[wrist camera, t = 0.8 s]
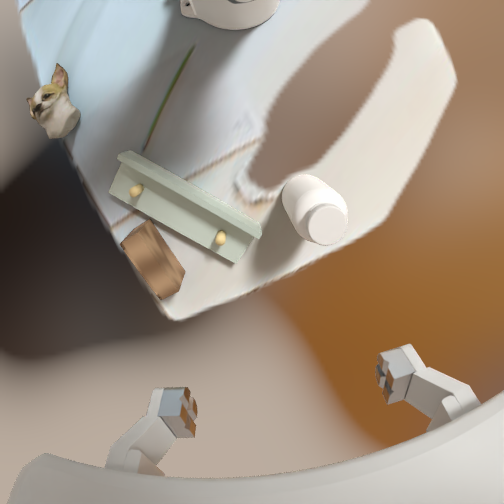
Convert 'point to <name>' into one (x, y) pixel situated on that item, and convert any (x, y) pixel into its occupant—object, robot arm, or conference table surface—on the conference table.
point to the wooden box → (154, 259)
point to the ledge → (183, 206)
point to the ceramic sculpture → (54, 106)
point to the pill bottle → (315, 210)
